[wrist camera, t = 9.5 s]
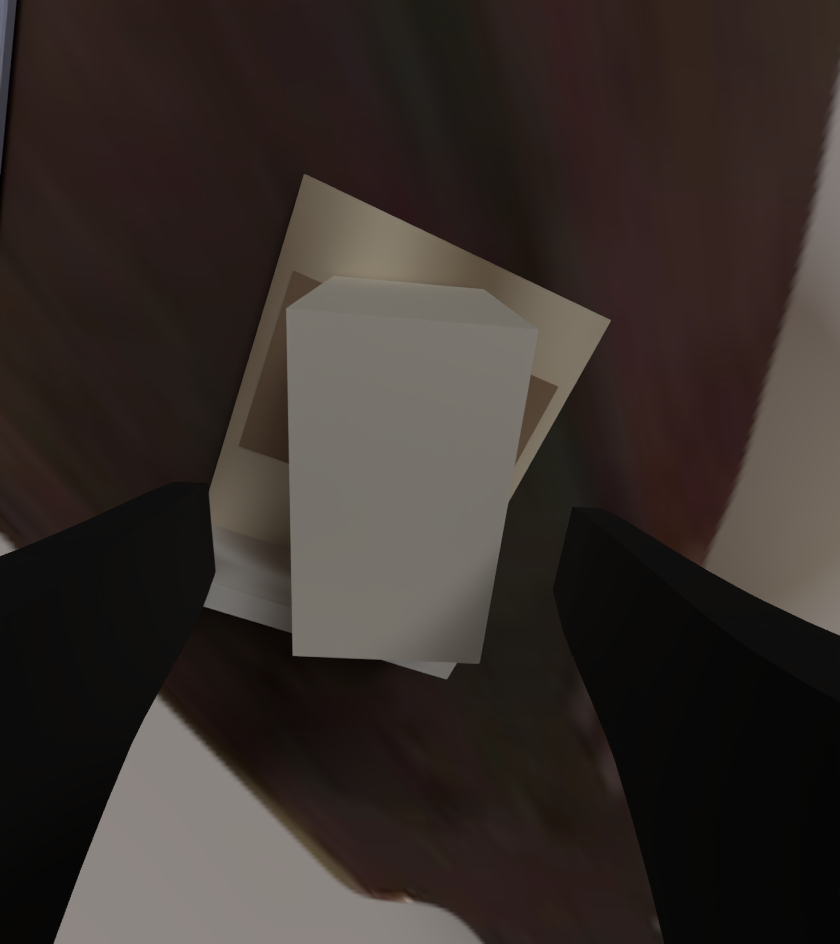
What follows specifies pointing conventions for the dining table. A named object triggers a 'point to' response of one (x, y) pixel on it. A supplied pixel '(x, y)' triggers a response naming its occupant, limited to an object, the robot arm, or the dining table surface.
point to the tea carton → (400, 464)
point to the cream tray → (266, 386)
